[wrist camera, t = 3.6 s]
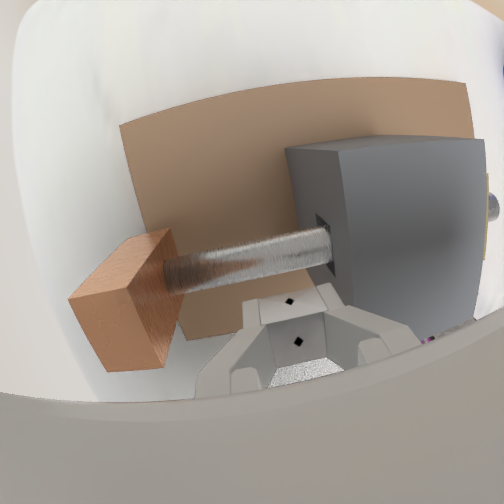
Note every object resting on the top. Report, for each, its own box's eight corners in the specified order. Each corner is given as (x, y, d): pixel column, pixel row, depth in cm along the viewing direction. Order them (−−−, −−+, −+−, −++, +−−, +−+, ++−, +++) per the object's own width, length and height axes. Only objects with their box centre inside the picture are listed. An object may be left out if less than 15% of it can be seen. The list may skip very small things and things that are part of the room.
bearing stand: (468, 263, 27) (543, 319, 14) (187, 334, 27) (166, 445, 15) (459, 84, 20) (557, 77, 7) (123, 126, 20) (20, 118, 8)
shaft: (464, 222, 18) (536, 258, 11) (147, 292, 19) (107, 372, 11) (463, 172, 17) (543, 194, 9) (127, 238, 18) (67, 299, 10)
